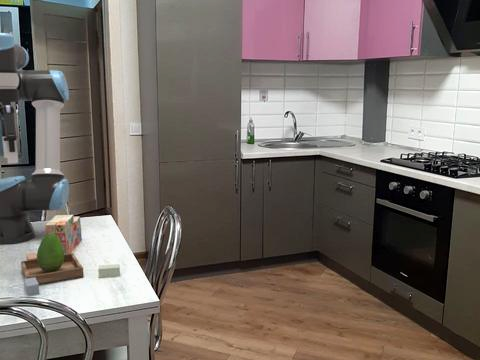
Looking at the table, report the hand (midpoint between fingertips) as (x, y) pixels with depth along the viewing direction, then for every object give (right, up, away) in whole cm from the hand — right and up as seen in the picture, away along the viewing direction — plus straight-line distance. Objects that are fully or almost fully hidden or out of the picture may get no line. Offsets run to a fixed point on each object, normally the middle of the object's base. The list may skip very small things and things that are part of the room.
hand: (11, 160), depth 148 cm
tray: (+11, -35, +3) cm, 36 cm away
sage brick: (+29, -35, +2) cm, 46 cm away
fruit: (+11, -34, +3) cm, 36 cm away
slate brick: (+10, -37, -10) cm, 40 cm away
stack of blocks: (+7, -31, +27) cm, 41 cm away
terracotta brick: (+2, -33, +12) cm, 35 cm away
